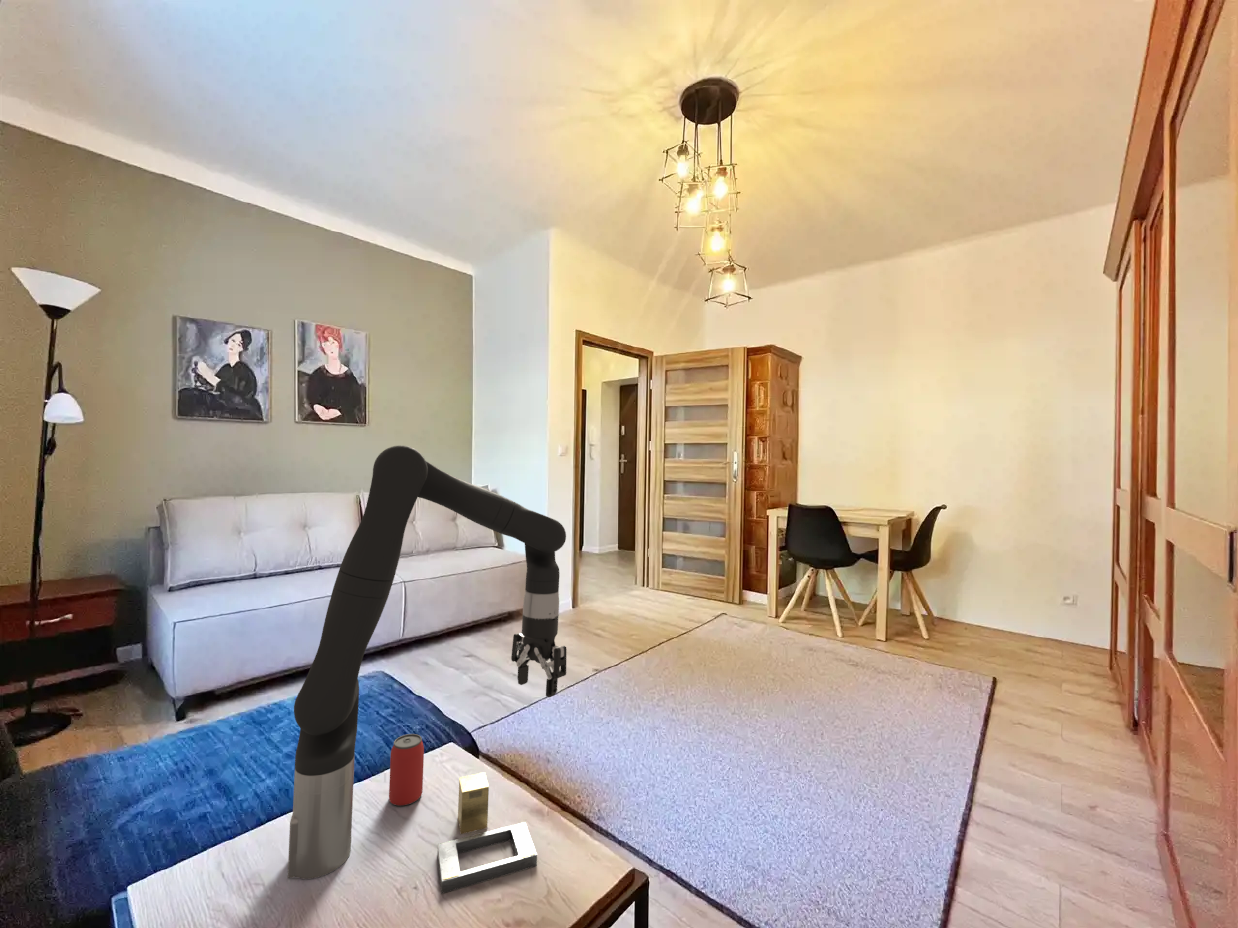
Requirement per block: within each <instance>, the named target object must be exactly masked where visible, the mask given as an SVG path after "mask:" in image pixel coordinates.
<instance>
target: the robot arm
mask: <svg viewBox="0 0 1238 928" xmlns="http://www.w3.org/2000/svg"><path fill="white" fill-rule="evenodd" d="M370 483H371V484H370V488H369V493H368V497H367V499H366V500H367V501H366V506H365V509H364V513H363V515H362V518H361V521H360V522H359V525H358V527H357V528H356V530H355V533H354V535H353V536H352V539H351V541H350V543H349V545H348V547H347V549H346V551H345V554H344V556H343V559H342V561H341V564H340V566H339V569H338V572H337V576H336V579H335V582H334V585H333V588H332V592H331V596H330V598H329V599H330V600H329V603H328V607H327V609H326V614H325V618H324V622H323V627H322V632H321V638H320V641H319V644H318V649H317V652H316V654H315V656H314V659H313V661H312V663H311V666H310V669H309V671H308V673H307V676H306V678H305V680H304V682H303V684H302V686H301V689H300V690H299V692H298V694H297V696H296V698H295V701H294V705H293V715H294V719H295V722H296V724H297V726H298V727H299V728H300V729H299V730H300V731H299V735H298V736H299V737H298V740H297V745H296V750H295V757H294V761H295V762H294V775H293V776H294V778H293V779H294V780H293V783H294V784H293V800H292V801H293V802H292V805H293V806H292V814H291V817H290V821H289V837H288V838H289V839H288V842H289V843H288V860H287V861H288V863H287V879H292V878H298V879H302V880H303V879H304V880H310V879H316V878H320V877H323V876H325V875H328V874H331V873H332V872H334V871H335V870H337V869H338V868H340V867H341V866H342V865H343V864H344V863H346V862H347V860H348V858H349V856H350V855H351V851H352V849H351V847H352V823H353V801H354V780H355V779H354V778H355V777H354V775H355V756H356V755H355V752H356V741H357V733H358V722H359V721H358V720H359V717H358V716H359V701H360V684H359V679H358V678H359V674H360V668H361V664H362V661H363V658H364V656H365V653H366V649H367V647H368V645H369V643H370V640H371V638H372V636H373V634H374V633H375V630H376V628H377V626H378V624H379V621H380V619H381V617H382V614H383V611H384V609H385V606H386V604H387V601H388V599H389V596H390V592H391V589H392V585H393V583H394V580H395V576H396V571H397V569H398V565H399V561H400V556H401V552H402V547H403V541H404V538H405V537H404V536H405V531H406V527H407V524H408V521H409V518H410V515H411V514H412V511H413V508H414V506H415V503H416V502H417V500H418V498H419V499H420V498H421V499H424V500H426V501H428V502H429V501H430V502H432V503H435V504H437V505H440V506H441V507H445V508H446V509H449V510H451V511H452V512H454V513H457V514H458V515H460V516H462V517H463V518H465V519H467V520H470V521H471V522H473V523H476V524H477V525H480V526H482V527H484V528H486V529H489V530H492V531H494V532H496V533H498V534H501V535H504V536H507V537H510V538H514V539H516V540H517V541H520V542H522V543H524V550H525V551H524V553H525V554H524V555H525V563H526V572H525V573H526V575H525V587H524V588H525V589H524V590H525V591H524V597H523V604H522V620H521V621H522V622H521V623H522V624H521V632H519V633H518V632H517V633H514V634H513V638H512V647H511V648H512V649H511V656H510V658H511V662H512V663H514V662H515V663H516V666H517V684H518V685H520V686H522V685H526V684H527V683H528V681H529V667H530V666H529V663H530V662H533V661H535V662H536V663H538V664H540V667H541V669H542V670H544V671H545V674H546V677H547V678H546V684H545V686H546V687H545V697H548V698H551V697H554V696H555V695H556V694H557V692H558V680H559V679H560V678H562V677H565V676H566V675H567V651H568V650H567V647H566V646H565V645H562V646H557V645H556V642H555V639H556V637H557V635H558V630H559V613H560V596H559V595H560V593H559V592H560V591H559V590H560V567H559V565H558V564H557V561H556V552H557V551H559V550H560V549H562V548H563V546H565V545H564V544H565V542H566V539H567V532H566V530H565V527H564V526H563V524H562V523H561V522H560V521H558V520H556V519H554V518H551V517H549V516H546V515H544V514H541V513H539V512H536V511H534V510H531V509H528V508H526V507H524V506H523V505H521V504H519V503H518V502H516V501H514V500H511V499H509V498H507V497H505V496H503V495H500V494H498V493H496V492H494V491H491V490H488V489H486V488H483V487H481V486H478V485H475V484H472V483H470V482H468V481H465V480H463V479H460V478H457V477H455V476H453V475H451V474H450V473H448V472H446V471H443V470H442V469H440V468H438V466H437V467H436V466H435V465H434V464H433V463H431V462H429V461H427V460H426V458H425V456H423V454H422V453H421V452H420V451H418V450H417V449H416V448H414V447H411V446H409V445H394V446H390V447H388V448H385V449H384V450H383V451H381V452H380V453H379V454H378V456H377V457H376V459H375V461H374V463H373V467H372V476H371V481H370ZM549 660H550V661H549ZM548 661H549V662H548Z"/></svg>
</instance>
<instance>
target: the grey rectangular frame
mask: <svg viewBox="0 0 1238 928" xmlns="http://www.w3.org/2000/svg"><path fill="white" fill-rule="evenodd" d="M508 841H510V843H511V847H512V849H513V852H514V856H512V857H508V858H504V859H500V860H497V861H493V862H490V863H485V864H483V865H479V866H476V867H472V868H468V869H464V870H461V868H460V863H459V854H462V853H463V854H464V853H467V852H470V851H474V850H477V849H481V848H485V847H490V846H494V845H496V844H501V843H504V842H508ZM436 854H437V863H438V864H437V865H438V874H439V882H440V884H439V885H440V892H441V894H445V893H449V892H452V891H455V890H460V889H463V888H467V887H469V886H473V885H476V884H477V885H478V884H480V883H483V882H486V881H491V880H493V879H497V878H500V877H504V876H507V875H511V874H515V873H518V872H521V871H524V870H527V869H531V868H535V867H537V866H538V853H537V851H536V847H535V845H534V843H533V840H532V837H531V834H530V832H529V828H528V825H527V823H526V821H523V822H520V823H516V824H512V825H508V826H504V827H500V828H496V829H493V830H488V831H484V832H480V833H475V834H473V835H472V834H471V835H468V836H464V837H460V838H457V839H453V840H449V841H445V842H441V843H438V844H437V853H436Z"/></svg>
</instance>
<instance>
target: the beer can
mask: <svg viewBox="0 0 1238 928" xmlns="http://www.w3.org/2000/svg"><path fill="white" fill-rule="evenodd" d="M424 752H425V747H424V742H423V738H422V736H421V735H419V734H417V733H416V734H415V733H408V734H403V735H401V736H399V737H397V738H396V739H395V740H394V741H393V746H392V747H391V750H390V761H389V764H390V765H389V766H390V767H389V785H388V786H389V788H388V789H389V790H388V801H389V802H390V803H391V804H392V805H395V806H399V807H400V806H401V807H402V806H404V807H405V806H408V805H411V804H413V803H414V802H417V801H418V800H419V799H420V797H422V795H423V787H424V786H423V784H424V763H425V762H424V759H425V757H424V756H425V753H424Z"/></svg>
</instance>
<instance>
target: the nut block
mask: <svg viewBox="0 0 1238 928" xmlns="http://www.w3.org/2000/svg"><path fill="white" fill-rule="evenodd" d="M458 786H459V787H458V806H457V808H458V809H457V821H458V827H459V832H460V835H463V834H468V833H472V832H475V831H480V830H484V829H488V823H489V822H488V821H489V819H488V818H489V815H488V814H489V790H490V786H489V782H488V779H487V775H486V772H478V773H475V774H471V775H465V776H460V777H459V782H458Z"/></svg>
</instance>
